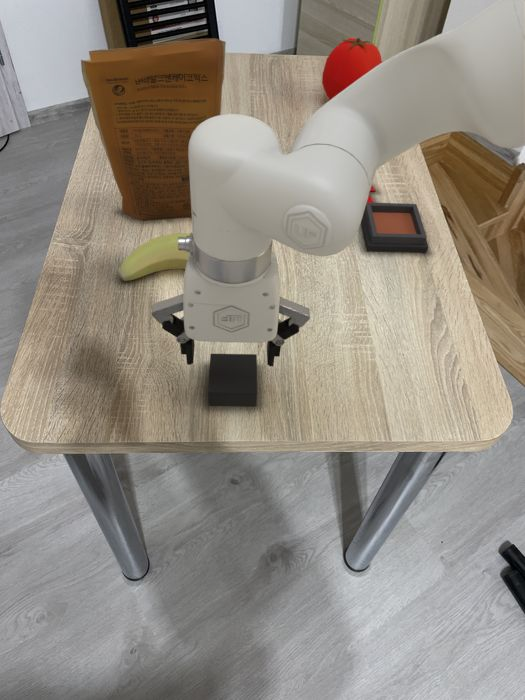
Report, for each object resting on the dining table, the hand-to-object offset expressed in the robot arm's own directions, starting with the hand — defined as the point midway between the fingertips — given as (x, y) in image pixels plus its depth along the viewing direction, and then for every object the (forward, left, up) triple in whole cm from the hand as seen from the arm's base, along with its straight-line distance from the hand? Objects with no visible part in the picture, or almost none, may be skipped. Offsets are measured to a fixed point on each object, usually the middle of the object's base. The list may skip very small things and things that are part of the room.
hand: (230, 356), depth 65 cm
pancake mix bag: (-2, -37, -7) cm, 38 cm away
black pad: (0, 0, -7) cm, 7 cm away
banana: (-1, -19, -7) cm, 20 cm away
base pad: (-36, -21, -7) cm, 42 cm away
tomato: (-48, -62, -7) cm, 79 cm away
